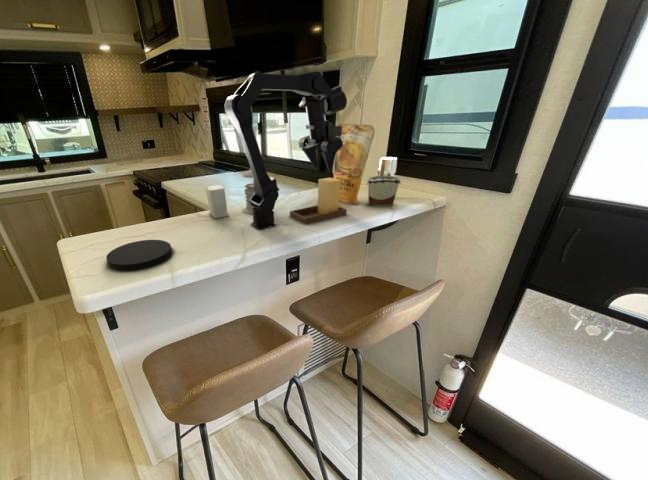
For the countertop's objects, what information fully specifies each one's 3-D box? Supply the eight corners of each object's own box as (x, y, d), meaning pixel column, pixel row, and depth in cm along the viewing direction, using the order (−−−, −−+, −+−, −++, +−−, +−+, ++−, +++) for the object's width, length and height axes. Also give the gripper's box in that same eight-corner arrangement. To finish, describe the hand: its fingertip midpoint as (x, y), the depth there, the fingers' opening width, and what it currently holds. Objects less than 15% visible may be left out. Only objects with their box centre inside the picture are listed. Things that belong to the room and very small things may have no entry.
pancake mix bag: (338, 194, 139) (342, 123, 124) (368, 203, 124) (377, 124, 110) (326, 197, 137) (329, 124, 122) (354, 206, 122) (362, 125, 107)
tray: (305, 224, 107) (305, 218, 106) (289, 217, 115) (289, 211, 114) (346, 215, 113) (346, 209, 112) (328, 208, 121) (328, 202, 120)
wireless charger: (160, 241, 101) (158, 235, 100) (181, 257, 89) (180, 251, 88) (102, 256, 92) (100, 250, 91) (117, 277, 80) (114, 270, 79)
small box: (228, 216, 120) (224, 188, 114) (214, 218, 118) (209, 190, 113) (223, 211, 126) (219, 184, 121) (209, 213, 125) (205, 186, 119)
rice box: (327, 216, 112) (328, 182, 106) (317, 212, 117) (318, 179, 111) (338, 214, 114) (340, 179, 108) (328, 210, 119) (329, 177, 112)
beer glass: (393, 195, 133) (399, 157, 125) (389, 199, 128) (395, 159, 120) (377, 193, 137) (382, 156, 129) (372, 197, 132) (377, 159, 124)
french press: (258, 205, 131) (253, 139, 118) (275, 210, 123) (272, 140, 110) (239, 210, 126) (231, 142, 113) (255, 216, 118) (249, 143, 105)
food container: (393, 200, 126) (397, 174, 120) (397, 205, 121) (401, 178, 115) (362, 201, 127) (365, 176, 122) (364, 205, 122) (367, 179, 117)
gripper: (355, 111, 94) (358, 164, 103) (321, 112, 109) (326, 158, 118) (324, 122, 92) (331, 175, 101) (294, 122, 106) (302, 168, 115)
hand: (323, 168), depth 109 cm, fingers open, 9 cm apart
